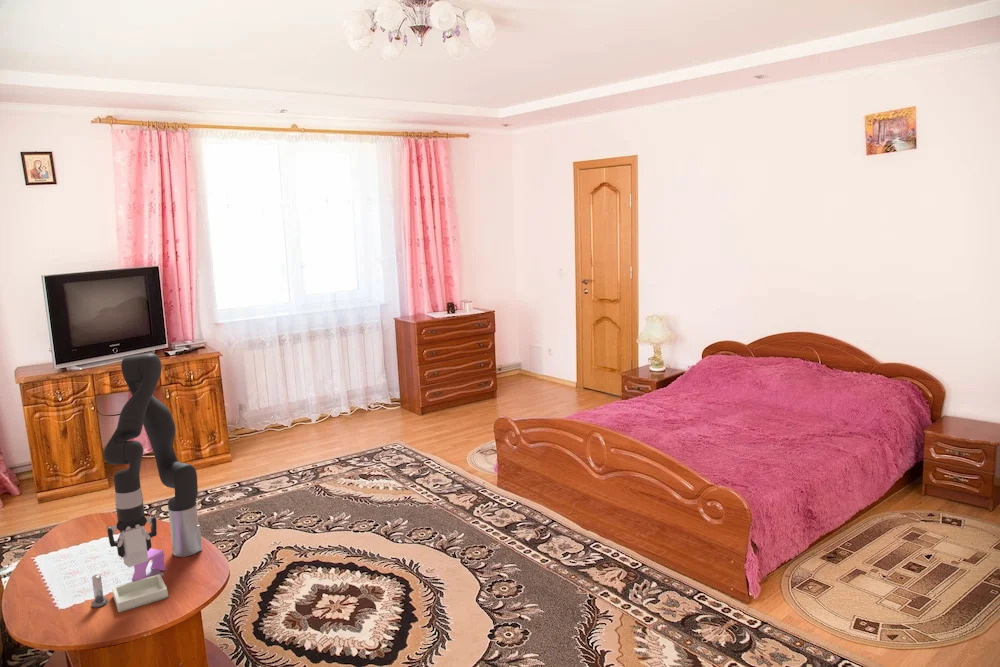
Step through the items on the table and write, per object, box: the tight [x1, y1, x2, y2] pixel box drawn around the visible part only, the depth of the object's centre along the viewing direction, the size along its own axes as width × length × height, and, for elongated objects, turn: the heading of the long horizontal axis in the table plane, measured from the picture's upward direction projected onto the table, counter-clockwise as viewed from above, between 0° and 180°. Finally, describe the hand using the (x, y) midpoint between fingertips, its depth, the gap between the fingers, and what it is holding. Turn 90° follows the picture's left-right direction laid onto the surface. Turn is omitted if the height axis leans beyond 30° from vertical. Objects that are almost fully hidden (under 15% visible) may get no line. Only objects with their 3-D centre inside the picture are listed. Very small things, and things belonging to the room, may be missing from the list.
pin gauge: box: [90, 574, 109, 609], centre depth 218 cm, size 4×4×9 cm
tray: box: [111, 573, 169, 613], centre depth 222 cm, size 14×12×3 cm
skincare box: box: [119, 525, 148, 568], centre depth 220 cm, size 6×4×12 cm
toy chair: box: [131, 543, 167, 581], centre depth 236 cm, size 8×9×15 cm
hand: (134, 553), depth 220 cm, fingers closed on skincare box, 6 cm apart
